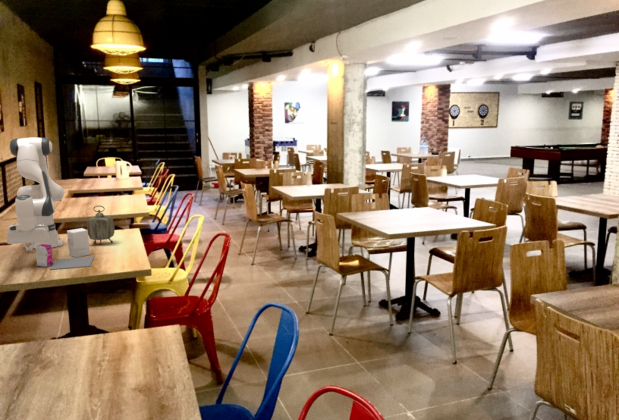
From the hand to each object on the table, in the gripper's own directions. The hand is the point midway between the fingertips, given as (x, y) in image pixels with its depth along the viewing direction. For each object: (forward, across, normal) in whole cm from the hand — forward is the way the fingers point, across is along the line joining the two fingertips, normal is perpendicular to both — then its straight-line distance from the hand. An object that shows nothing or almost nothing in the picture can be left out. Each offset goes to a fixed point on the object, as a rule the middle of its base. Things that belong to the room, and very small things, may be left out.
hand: (29, 250), depth 278 cm
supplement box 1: (+9, -7, 0) cm, 12 cm away
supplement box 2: (+9, -22, -18) cm, 30 cm away
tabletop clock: (+9, -32, -41) cm, 53 cm away
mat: (+9, -21, 0) cm, 23 cm away
